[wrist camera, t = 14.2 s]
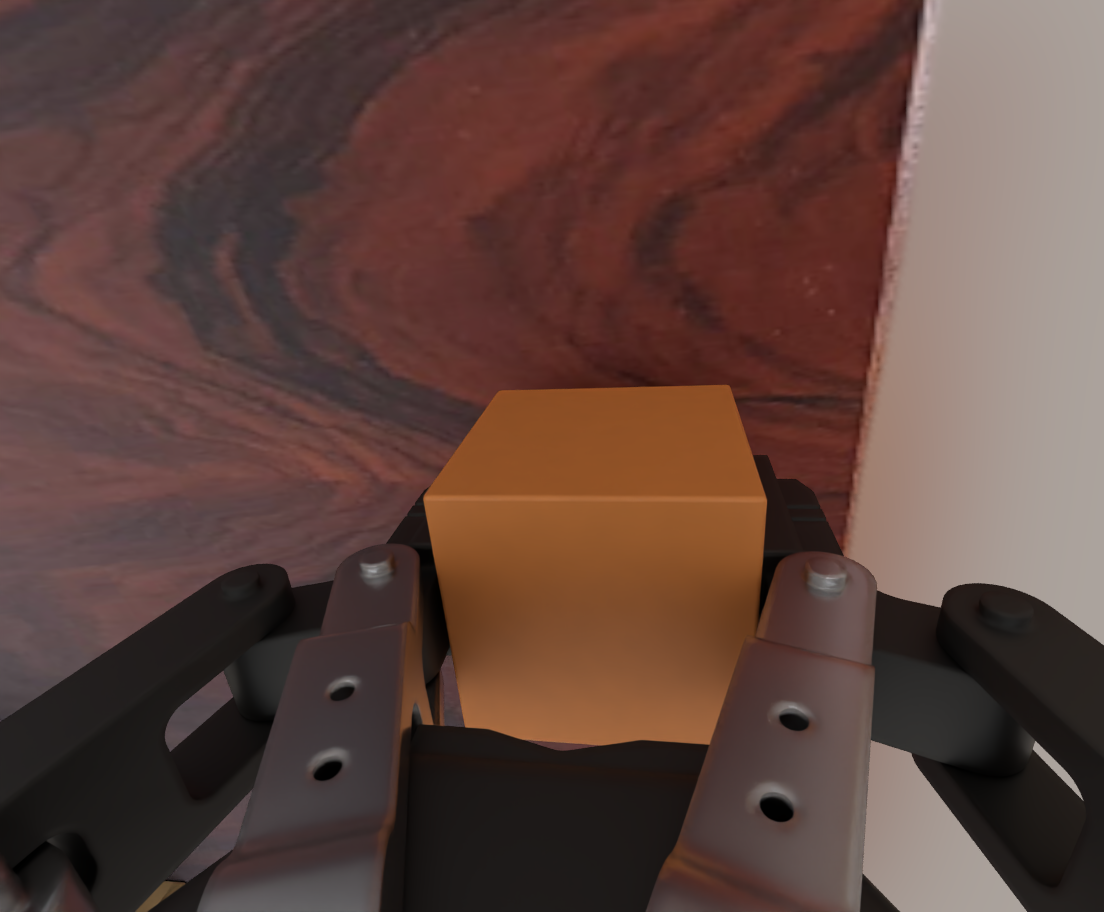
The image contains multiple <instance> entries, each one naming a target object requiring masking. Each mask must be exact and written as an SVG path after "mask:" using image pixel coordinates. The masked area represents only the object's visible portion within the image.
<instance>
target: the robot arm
mask: <svg viewBox="0 0 1104 912" xmlns="http://www.w3.org/2000/svg"><path fill="white" fill-rule="evenodd" d="M753 458H754V461H755V465H756V468H757V471H758V474H759V477H760V480H761V483H762V486H763V489H764V492H765V495H766V498H767V511H766V524H765V538H764V552H763V565H762V579H761V592H760V606H759V620H758V627H757V630H756V634H755V636H751V635H747V636H746V638H745V640H744V642H743V645H742V648H741V651H740V654H739V657H738V660H737V663H736V666H735V669H734V672H733V675H732V678H731V681H730V684H729V687H728V690H727V693H726V696H725V699H724V702H723V705H722V708H721V711H720V714H719V717H718V720H717V723H716V726H715V729H714V733H713V736H712V739H711V742H710V745H708V744H694V743H680V742H666V741H652V740H636V741H630V742H623V743H616V744H609V745H603V746H596V747H589V748H582V749H575V750H568V751H558V750H554V749H550V748H547V747H544V746H541V745H537V744H534V743H531V742H528V741H525V740H522V739H518V738H515V737H512V736H509V735H506V734H503V733H500V732H496V731H493V730H490V729H482V728H468V727H454V726H444V682H443V676H442V670H441V666H442V664H443V662H444V659H445V657H446V655H452V653H451V647H450V642H449V637H448V631H447V626H446V620H445V615H444V609H443V604H442V599H441V593H440V588H439V582H438V577H437V571H436V566H435V561H434V555H433V550H432V544H431V539H430V533H429V528H428V523H427V517H426V512H425V506H424V501H423V498H424V495H425V493H426V492H427V490H428V489H429V488H430V487H429V488H427V489H426V490H424V492H423V493H422V494H421V496H420V497H419V498H418V500H417V501H416V503H415V506H413V507H412V508H411V510H410V511H409V512H408V516H407V517H405V518H404V519H403V521H402V522H401V523H400V525H399V526H398V528H397V529H396V530H395V532H394V533H393V535H392V536H391V537H390V539H389V540H388V542H387V543H386V544H381V545H376V546H372V547H368V548H366V549H363V550H360V551H358V552H356V553H354V554H353V555H351V556H349V557H348V558H347V559H345V560H344V561H343V562H342V563H341V564H340V566H339V567H338V568H337V571H336V574H335V578H334V580H333V581H329V582H323V583H318V584H312V585H306V586H300V587H295V588H291V585H290V581H289V578H288V575H287V572H286V570H285V569H284V568H282V567H280V566H277V565H273V564H256V565H250V566H246V567H242V568H239V569H236V570H233V571H231V572H228V573H226V574H224V575H222V576H220V577H218V578H217V579H215V580H213V581H212V582H210V583H209V584H207V585H206V586H204V587H203V588H201V589H200V590H198V591H197V592H195V593H194V594H192V595H191V596H189V597H188V598H186V599H185V600H183V601H182V602H180V603H179V604H177V605H176V606H174V607H173V608H171V609H170V610H168V611H167V612H165V613H164V614H162V615H161V616H159V617H158V618H156V619H155V620H153V621H152V622H150V623H149V624H147V625H146V626H144V627H143V628H141V629H140V630H138V631H137V632H135V633H134V634H132V635H131V636H129V637H128V638H126V639H125V640H123V641H122V642H120V643H119V644H117V645H116V646H114V647H113V648H111V649H110V650H108V651H107V652H105V653H104V654H102V655H101V656H99V657H98V658H96V659H95V660H93V661H92V662H90V663H89V664H87V665H86V666H84V667H83V668H81V669H80V670H78V671H77V672H75V673H74V674H72V675H70V676H69V677H67V678H66V679H64V680H63V681H61V682H60V683H58V684H57V685H55V686H54V687H52V688H51V689H49V690H48V691H46V692H45V693H43V694H42V695H40V696H39V697H37V698H36V699H34V700H33V701H31V702H30V703H28V704H27V705H25V706H24V707H22V708H21V709H19V710H18V711H16V712H15V713H13V714H12V715H10V716H9V717H7V718H6V719H4V720H3V721H1V722H0V912H135V911H136V910H137V909H138V908H139V907H140V906H141V905H142V904H143V903H144V902H145V901H146V900H147V899H148V898H149V897H150V896H151V895H152V894H153V892H154V891H155V890H156V889H157V888H158V887H159V886H160V885H161V884H162V883H163V882H164V881H165V880H166V879H167V878H168V877H169V876H170V875H171V874H172V873H173V871H174V870H175V869H176V868H177V867H178V866H179V865H180V864H181V863H182V862H183V861H184V860H185V859H186V858H187V857H188V856H189V855H190V854H191V853H192V852H193V851H194V849H195V848H196V847H197V846H198V845H199V844H200V843H201V842H202V841H203V840H204V839H205V838H206V837H207V836H208V835H209V834H210V833H211V832H212V831H213V830H214V828H215V827H216V826H217V825H218V824H219V823H220V822H221V821H222V820H223V819H224V818H225V817H226V816H227V815H228V814H229V813H230V812H231V811H232V810H233V809H234V807H235V806H236V805H237V804H238V803H239V802H240V801H241V800H242V799H243V798H244V797H245V796H246V795H247V794H248V793H249V792H250V791H251V790H252V789H253V790H252V793H251V797H250V800H249V803H248V806H247V810H246V813H245V816H244V819H243V823H242V826H241V829H240V832H239V836H238V839H237V842H236V845H235V847H234V849H233V850H232V851H230V852H229V853H228V854H226V855H225V856H223V857H222V858H221V859H219V860H218V861H216V862H215V863H214V864H212V865H211V866H210V867H208V868H207V869H205V870H204V871H203V872H201V873H200V874H198V875H197V876H196V877H194V878H193V879H191V880H190V881H189V882H187V883H186V884H185V885H183V886H182V887H180V888H179V889H178V890H176V891H175V892H173V893H172V894H171V895H169V896H168V897H167V898H165V899H164V900H162V901H161V902H160V903H158V904H157V905H155V906H154V907H153V908H151V909H150V910H149V911H147V912H900V911H899V910H898V909H897V908H896V907H895V906H894V905H893V904H892V903H891V902H890V901H889V900H888V899H887V898H886V897H885V896H884V895H883V894H882V893H881V892H880V891H879V890H878V889H877V888H876V887H875V886H874V885H873V884H872V883H871V882H870V881H869V880H868V878H866V876H864V874H863V873H862V871H863V855H864V839H865V824H866V807H867V792H868V776H869V760H870V743H871V740H872V741H875V742H879V743H882V744H885V745H888V746H891V747H894V748H898V749H901V750H904V751H907V752H910V753H912V757H913V759H914V761H915V763H916V765H917V766H918V768H919V769H920V771H921V772H922V773H923V775H924V776H925V777H926V779H927V780H928V781H929V782H930V784H931V785H932V787H933V788H934V789H935V791H936V792H937V793H938V794H939V796H940V797H941V798H942V800H943V801H944V802H945V804H946V805H947V806H948V808H949V809H950V810H951V812H952V813H953V814H954V816H955V817H956V818H957V820H958V821H959V822H960V824H961V825H962V826H963V827H964V829H965V830H966V831H967V833H968V834H969V835H970V837H971V838H972V839H973V841H974V842H975V843H976V845H977V846H978V847H979V849H980V850H981V851H982V853H983V854H984V855H985V857H986V858H987V859H988V860H989V862H990V863H991V864H992V866H993V867H994V868H995V870H996V871H997V872H998V874H999V875H1000V876H1001V878H1002V879H1003V880H1004V881H1005V883H1006V884H1007V885H1008V887H1009V888H1010V889H1011V891H1012V892H1013V893H1014V895H1015V896H1016V897H1017V899H1018V900H1019V901H1020V903H1021V904H1022V905H1023V907H1024V908H1025V909H1026V911H1027V912H1104V645H1102V644H1101V643H1100V642H1098V641H1097V640H1096V639H1094V638H1093V637H1092V636H1090V635H1089V634H1087V633H1086V632H1085V631H1083V630H1082V629H1080V628H1079V627H1078V626H1077V625H1075V624H1074V623H1073V622H1071V621H1070V620H1068V619H1067V618H1066V617H1064V616H1063V615H1061V614H1060V613H1059V612H1058V611H1056V610H1055V609H1053V608H1052V607H1051V606H1049V605H1048V604H1046V603H1044V602H1043V601H1041V600H1039V599H1037V598H1035V597H1033V596H1031V595H1028V594H1026V593H1023V592H1021V591H1018V590H1015V589H1011V588H1007V587H1004V586H998V585H992V584H981V583H980V584H979V583H974V584H973V583H972V584H964V585H959V586H956V587H954V588H952V589H950V590H949V591H947V593H946V594H945V595H944V597H943V601H942V605H941V608H940V607H935V606H930V605H926V604H921V603H917V602H912V601H907V600H903V599H899V598H895V597H893V596H890V595H887V594H884V593H882V592H880V591H877V583H876V580H875V578H874V576H873V575H872V574H871V573H870V571H868V570H867V569H866V568H865V567H864V566H862V565H861V564H859V563H857V562H855V561H854V560H851V559H849V558H847V557H844V555H843V553H842V551H841V549H840V547H839V545H838V543H837V540H836V538H835V536H834V534H833V532H832V530H831V528H830V526H829V524H828V522H826V517H825V515H824V513H823V511H822V509H820V505H819V503H818V501H817V498H816V496H815V494H814V492H813V491H812V490H810V489H809V488H808V487H806V486H805V485H803V484H802V483H801V482H799V481H798V480H797V479H776V476H775V474H774V471H773V468H772V466H771V463H770V460H769V458H768V456H767V455H753ZM222 671H224V674H225V676H226V679H227V681H228V684H229V687H230V689H231V692H232V694H233V698H232V699H230V700H229V701H228V702H227V703H226V704H225V705H224V706H222V707H221V708H220V709H219V710H218V711H217V712H216V713H214V714H213V715H212V716H211V717H210V718H209V719H207V720H206V721H205V722H204V723H203V724H202V725H201V726H199V727H198V728H197V729H196V730H195V731H194V732H193V733H191V734H190V735H189V736H188V737H187V738H186V739H185V740H183V741H182V742H181V743H180V744H179V745H178V746H177V747H175V748H174V749H173V750H172V751H171V752H170V751H169V749H168V747H167V745H166V742H165V729H166V726H167V723H168V721H169V719H170V717H171V716H172V714H173V713H174V712H175V710H176V709H177V708H178V707H179V706H180V705H181V704H183V703H184V702H185V701H186V700H188V699H189V698H190V697H191V696H192V695H194V694H195V693H196V692H197V691H199V690H200V689H201V688H202V687H203V686H205V685H206V684H207V683H208V682H210V681H211V680H212V679H213V678H214V677H216V676H217V675H218V674H219V673H221V672H222ZM1035 741H1036V742H1037V743H1039V744H1040V746H1041V747H1043V749H1045V751H1046V752H1048V753H1049V754H1050V755H1051V756H1052V757H1053V758H1054V759H1055V760H1056V761H1057V762H1058V763H1059V764H1060V765H1061V766H1062V767H1063V768H1064V769H1065V770H1066V772H1067V773H1068V774H1069V775H1070V776H1071V778H1072V779H1073V780H1074V782H1075V784H1076V785H1077V787H1078V789H1079V791H1080V793H1081V795H1082V798H1083V800H1084V801H1083V800H1082V799H1081V798H1080V797H1079V796H1078V795H1077V794H1076V793H1075V792H1074V791H1073V790H1072V789H1071V788H1070V787H1069V786H1068V785H1067V784H1066V783H1065V782H1064V781H1063V780H1062V779H1061V778H1060V777H1059V776H1058V775H1057V774H1056V773H1055V772H1054V771H1053V770H1052V769H1051V768H1050V767H1049V766H1048V765H1047V764H1046V763H1045V762H1044V761H1043V760H1042V759H1041V758H1040V757H1039V755H1037V753H1036V752H1035V751H1034V750H1033V746H1034V743H1035Z"/></svg>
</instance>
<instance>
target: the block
mask: <svg viewBox="0 0 1104 912" xmlns="http://www.w3.org/2000/svg"><path fill="white" fill-rule="evenodd" d="M423 501H424V506H425V512H426V517H427V523H428V528H429V533H430V539H431V544H432V550H433V555H434V561H435V566H436V571H437V577H438V582H439V588H440V593H441V599H442V604H443V609H444V615H445V620H446V626H447V631H448V637H449V642H450V647H451V653H452V658H453V664H454V669H455V675H456V680H457V685H458V691H459V696H460V702H461V707H462V713H463V718H464V723H465V727H468V728H482V729H490V730H493V731H496V732H500V733H503V734H506V735H509V736H512V737H515V738H518V739H522V740H535V741H549V742H562V743H576V744H590V745H609V744H616V743H623V742H630V741H636V740H652V741H666V742H680V743H694V744H708V745H710V742H711V739H712V736H713V733H714V729H715V726H716V723H717V720H718V717H719V714H720V711H721V708H722V705H723V702H724V699H725V696H726V693H727V690H728V687H729V684H730V681H731V678H732V675H733V672H734V669H735V666H736V663H737V660H738V657H739V654H740V651H741V648H742V645H743V642H744V640H745V638H746V636H747V635H751V636H755V634H756V630H757V627H758V620H759V606H760V592H761V579H762V565H763V552H764V538H765V524H766V511H767V498H766V495H765V492H764V489H763V486H762V483H761V480H760V477H759V474H758V471H757V468H756V465H755V461H754V458H753V455H752V452H751V449H750V446H749V443H748V440H747V437H746V434H745V431H744V428H743V425H742V422H741V419H740V415H739V412H738V409H737V406H736V403H735V400H734V397H733V394H732V391H731V388H730V386H729V385H700V386H661V387H621V388H582V389H542V390H503V391H498V392H497V394H496V395H495V397H494V398H493V399H492V401H491V402H490V404H489V405H488V406H487V408H486V409H485V411H484V412H483V413H482V415H481V416H480V418H479V419H478V420H477V422H476V423H475V425H474V426H473V427H472V429H471V430H470V432H469V433H468V434H467V436H466V437H465V439H464V440H463V441H462V443H461V444H460V446H459V447H458V448H457V450H456V451H455V453H454V454H453V455H452V457H451V458H450V460H449V461H448V462H447V464H446V465H445V467H444V468H443V469H442V471H441V472H440V474H439V475H438V476H437V478H436V479H435V481H434V482H433V483H432V485H431V486H430V488H429V489H428V490H427V492H426V493H425V495H424V498H423Z"/></svg>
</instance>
